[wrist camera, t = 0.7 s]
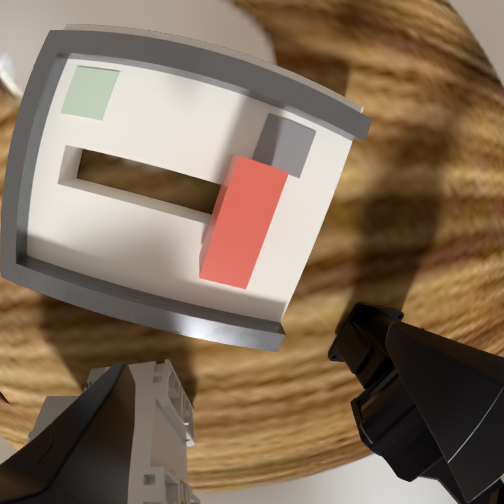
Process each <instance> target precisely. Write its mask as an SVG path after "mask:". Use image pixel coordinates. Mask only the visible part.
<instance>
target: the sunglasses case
mask: <svg viewBox="0 0 504 504" xmlns="http://www.w3.org/2000/svg"><path fill="white" fill-rule="evenodd" d="M5 405H9V406H11V405H10V404H9V402H8V401H7V400H6V399H5V397H4V396H3V395H2V394H1V393H0V407H2V406H5Z"/></svg>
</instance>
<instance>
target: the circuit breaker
mask: <svg viewBox="0 0 504 504" xmlns="http://www.w3.org/2000/svg"><path fill="white" fill-rule="evenodd" d="M128 366H129V368H130V371H131V373H132V375H133V378H134V380H135V384H136V393H135V427H134V436H133V444H132V453H131V463H130V474H129V487H128V503H127V504H200V500H199V499H198V498H197V497H196V496H195V495H193V494H192V487H191V486H190V485H189V484H188V475H187V455H186V446H187V445H188V447H190V446H193V445H195V427H194V419H193V412H194V409H193V407H192V405H191V403H190V401H189V399H188V397H187V395H186V393H185V391H184V389H183V387H182V385H181V383H180V381H179V379H178V377H177V375H176V372H175V370H174V368H173V366H172V364H171V362H170V359H165V363H161V364H157V363H156V361H152V362H145V363H137V364H129V365H128ZM109 368H110V367H102V368H92V369H91V371H90V374H89V377H88V379H87V383H88V385H89V386H88V388H89V387H90V386H91V385H92V384H93V383H94V382H95V381H96V380H97V379H98V378H99V377H100V376H101V375H103V374H104V373H105V372H106V371H107V370H108V369H109ZM86 389H87V388H84V391H85V390H86ZM84 391H83V392H84ZM78 397H79V396H47V397H46V399H45V401H44V404H43V406H42V408H41V411H40V413H39V416H38V418H37V421H36V423H35V426H34V429H33V431H32V432H30V433H29V435H28V439H29V442H30V441H32V440H33V439H34V438H35V437H36V436H37V435H38V434H40V433H41V432H42V431H43V430H44V429H45V428H46V427H47V426H48V425H49V424H52V422H53V421H54V420H55V419H56V418H57V417H58V416H59V415H60V414H61V413H62V412H63V411H64V410H65V409H66V408H67V407H68V406H69V405H71V404H72V403H73V402H74V401H75V400H76V399H77V398H78ZM185 425H189V429H187V428H186V426H185Z"/></svg>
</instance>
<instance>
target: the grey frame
mask: <svg viewBox="0 0 504 504" xmlns="http://www.w3.org/2000/svg"><path fill="white" fill-rule="evenodd" d="M68 59H78V60H89V61H98V62H107V63H114V64H121V65H127V66H133V67H139V68H144V69H149V70H154V71H159V72H164V73H168V74H172V75H177V76H181V77H185V78H189V79H193V80H196V81H200V82H204V83H207V84H210V85H214V86H217V87H221V88H224V89H227V90H230V91H233V92H236V93H239V94H242V95H245V96H248V97H251V98H254V99H256V100H259V101H262V102H265V103H267V104H270V105H273V106H275V107H278V108H280V109H283V110H285V111H288V112H290V113H292V114H295V115H297V116H299V117H302V118H304V119H306V120H309V121H311V122H313V123H315V124H318V125H320V126H322V127H324V128H326V129H328V130H330V131H332V132H334V133H336V134H338V135H341V136H343V137H344V138H346V139H348V140H350V141H352V142H365V140H366V137H367V134H368V131H369V127H370V124H371V121H372V119H370V118H369V117H367V116H365V115H363V114H362V113H360V112H358V111H356V110H355V109H353V108H351V107H349V106H347V105H345V104H344V103H342V102H340V101H338V100H336V99H334V98H332V97H330V96H328V95H326V94H324V93H322V92H320V91H318V90H316V89H313V88H311V87H309V86H307V85H305V84H302V83H300V82H298V81H296V80H293V79H291V78H289V77H286V76H284V75H281V74H279V73H276V72H274V71H271V70H268V69H266V68H263V67H260V66H258V65H255V64H252V63H249V62H246V61H243V60H240V59H237V58H234V57H231V56H228V55H224V54H221V53H217V52H214V51H210V50H207V49H203V48H199V47H195V46H191V45H187V44H182V43H178V42H173V41H168V40H163V39H157V38H151V37H145V36H139V35H131V34H123V33H114V32H102V31H84V30H50V31H49V33H48V36H47V38H46V40H45V42H44V44H43V46H42V48H41V50H40V53H39V55H38V57H37V60H36V62H35V65H34V67H33V70H32V72H31V75H30V78H29V81H28V83H27V86H26V89H25V92H24V95H23V98H22V102H21V105H20V108H19V112H18V115H17V119H16V123H15V127H14V131H13V135H12V140H11V145H10V150H9V155H8V161H7V167H6V173H5V181H4V189H3V199H2V211H1V235H0V254H1V277H2V278H4V279H7V280H9V281H11V282H14V283H16V284H19V285H21V286H24V287H26V288H29V289H31V290H34V291H36V292H39V293H42V294H44V295H47V296H50V297H52V298H55V299H58V300H61V301H64V302H67V303H69V304H72V305H75V306H78V307H81V308H85V309H88V310H91V311H94V312H97V313H101V314H104V315H107V316H111V317H114V318H117V319H121V320H125V321H128V322H132V323H136V324H139V325H143V326H147V327H151V328H155V329H159V330H163V331H167V332H172V333H176V334H180V335H185V336H190V337H194V338H199V339H204V340H209V341H214V342H219V343H225V344H230V345H236V346H242V347H248V348H254V349H261V350H267V351H274V352H278V350H279V348H280V346H281V344H282V342H283V340H284V338H285V336H286V334H285V332H284V330H283V327H282V325H281V323H280V322H275V321H270V320H265V319H259V318H254V317H249V316H244V315H240V314H235V313H230V312H225V311H221V310H216V309H212V308H207V307H203V306H199V305H194V304H190V303H186V302H182V301H178V300H174V299H170V298H166V297H162V296H158V295H154V294H150V293H146V292H143V291H139V290H135V289H132V288H128V287H125V286H121V285H118V284H114V283H111V282H107V281H104V280H101V279H97V278H94V277H91V276H87V275H84V274H81V273H78V272H75V271H72V270H69V269H65V268H62V267H59V266H56V265H54V264H51V263H48V262H45V261H42V260H39V259H36V258H33V257H31V256H28V255H27V233H28V219H29V209H30V200H31V192H32V185H33V179H34V173H35V167H36V162H37V157H38V152H39V148H40V143H41V139H42V135H43V131H44V127H45V123H46V120H47V116H48V113H49V110H50V106H51V103H52V100H53V97H54V94H55V91H56V88H57V86H58V83H59V80H60V77H61V75H62V72H63V70H64V67H65V65H66V62H67V60H68Z"/></svg>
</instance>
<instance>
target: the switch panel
mask: <svg viewBox="0 0 504 504" xmlns="http://www.w3.org/2000/svg"><path fill="white" fill-rule="evenodd" d="M64 30H84V31H102V32H114V33H123V34H131V35H139V36H145V37H151V38H157V39H163V40H168V41H173V42H178V43H182V44H187V45H191V46H195V47H199V48H203V49H207V50H210V51H214V52H217V53H221V54H224V55H228V56H231V57H234V58H237V59H240V60H243V61H246V62H249V63H252V64H255V65H258V66H260V67H263V68H266V69H268V70H271V71H274V72H276V73H279V74H281V75H284V76H286V77H289V78H291V79H293V80H296V81H298V82H300V83H302V84H305V85H307V86H309V87H311V88H313V89H316V90H318V91H320V92H322V93H324V94H326V95H328V96H330V97H332V98H334V99H336V100H338V101H340V102H342V103H344V104H345V105H347V106H349V107H351V108H353V109H355V110H356V111H358V112H360V113H362V111H363V107H362V106H360V105H358V104H356V103H354V102H353V101H351V100H349V99H347V98H345V97H344V96H342V95H340V94H338V93H336V92H334V91H332V90H330V89H328V88H326V87H324V86H322V85H320V84H318V83H316V82H314V81H311V80H309V79H307V78H305V77H303V76H300V75H298V74H296V73H294V72H291V71H289V70H286V69H284V68H281V67H279V66H276V65H274V64H271V63H269V62H266V61H263V60H261V59H258V58H255V57H252V56H249V55H246V54H243V53H240V52H237V51H234V50H231V49H228V48H224V47H221V46H217V45H214V44H210V43H206V42H202V41H198V40H194V39H190V38H186V37H181V36H176V35H172V34H166V33H161V32H155V31H149V30H142V29H134V28H126V27H116V26H104V25H81V24H79V25H78V24H67V25H66V26H65V28H64ZM351 144H352V141H350V140H348V139H346V138H344V137H343V136H341V135H338V134H336V133H334V132H332V131H330V130H328V129H326V128H324V127H322V126H320V125H318V124H315V123H313V122H311V121H309V120H306V119H304V118H302V117H299V116H297V115H295V114H292V113H290V112H288V111H285V110H283V109H280V108H278V107H275V106H273V105H270V104H267V103H265V102H262V101H259V100H256V99H254V98H251V97H248V96H245V95H242V94H239V93H236V92H233V91H230V90H227V89H224V88H221V87H217V86H214V85H210V84H207V83H204V82H200V81H196V80H193V79H189V78H185V77H181V76H177V75H172V74H168V73H164V72H159V71H154V70H149V69H144V68H139V67H133V66H127V65H121V64H114V63H107V62H98V61H89V60H78V59H68V60H67V62H66V65H65V67H64V70H63V72H62V75H61V77H60V80H59V83H58V86H57V88H56V91H55V94H54V97H53V100H52V103H51V106H50V110H49V113H48V116H47V120H46V123H45V127H44V131H43V135H42V139H41V143H40V148H39V152H38V157H37V162H36V167H35V173H34V179H33V185H32V192H31V200H30V209H29V219H28V233H27V255H28V256H31V257H33V258H36V259H39V260H42V261H45V262H48V263H51V264H54V265H56V266H59V267H62V268H65V269H69V270H72V271H75V272H78V273H81V274H84V275H87V276H91V277H94V278H97V279H101V280H104V281H107V282H111V283H114V284H118V285H121V286H125V287H128V288H132V289H135V290H139V291H143V292H146V293H150V294H154V295H158V296H162V297H166V298H170V299H174V300H178V301H182V302H186V303H190V304H194V305H199V306H203V307H207V308H212V309H216V310H221V311H225V312H230V313H235V314H240V315H244V316H249V317H254V318H259V319H265V320H270V321H275V322H281V320H282V317H283V315H284V313H285V311H286V308H287V306H288V304H289V302H290V299H291V297H292V295H293V293H294V290H295V288H296V286H297V283H298V281H299V279H300V276H301V274H302V272H303V269H304V267H305V265H306V262H307V260H308V257H309V255H310V253H311V250H312V248H313V245H314V243H315V240H316V238H317V235H318V233H319V230H320V228H321V225H322V223H323V220H324V218H325V215H326V213H327V210H328V207H329V205H330V202H331V199H332V197H333V194H334V191H335V189H336V186H337V183H338V181H339V178H340V175H341V172H342V170H343V167H344V164H345V161H346V158H347V156H348V153H349V150H350V147H351ZM83 149H87V150H92V151H96V152H101V153H105V154H109V155H113V156H118V157H122V158H126V159H130V160H134V161H138V162H142V163H146V164H149V165H153V166H157V167H161V168H164V169H168V170H172V171H175V172H179V173H182V174H186V175H190V176H193V177H196V178H200V179H203V180H207V181H210V182H213V183H217V184H220V185H222V182H223V179H224V176H225V173H226V170H227V167H228V164H229V161H230V158H231V155H240V156H243V157H246V158H249V159H252V160H254V161H257V162H260V163H263V164H266V165H269V166H271V167H274V168H277V169H280V170H282V171H285V172H288V173H289V174H288V177H287V180H286V182H285V185H284V188H283V191H282V193H281V196H280V199H279V202H278V204H277V207H276V210H275V213H274V215H273V218H272V221H271V224H270V226H269V229H268V232H267V234H266V237H265V240H264V243H263V245H262V248H261V251H260V253H259V256H258V259H257V262H256V264H255V267H254V270H253V272H252V275H251V278H250V280H249V283H248V286H247V288H246V289H242V288H238V287H233V286H229V285H225V284H221V283H217V282H213V281H209V280H205V279H201V278H199V255H200V251H201V248H202V245H203V241H204V238H205V235H206V232H207V228H208V225H209V222H210V219H211V216H212V215H211V214H208V213H204V212H201V211H197V210H194V209H190V208H187V207H183V206H179V205H176V204H172V203H169V202H165V201H161V200H158V199H154V198H150V197H147V196H143V195H139V194H136V193H132V192H128V191H124V190H120V189H117V188H113V187H109V186H105V185H101V184H97V183H93V182H89V181H85V180H81V179H77V173H78V169H79V164H80V160H81V156H82V152H83Z"/></svg>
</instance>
